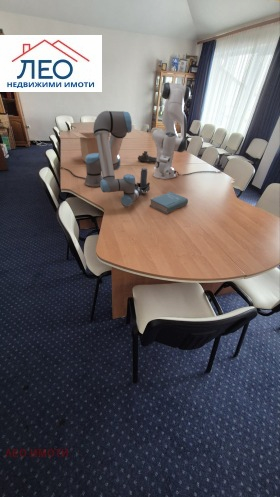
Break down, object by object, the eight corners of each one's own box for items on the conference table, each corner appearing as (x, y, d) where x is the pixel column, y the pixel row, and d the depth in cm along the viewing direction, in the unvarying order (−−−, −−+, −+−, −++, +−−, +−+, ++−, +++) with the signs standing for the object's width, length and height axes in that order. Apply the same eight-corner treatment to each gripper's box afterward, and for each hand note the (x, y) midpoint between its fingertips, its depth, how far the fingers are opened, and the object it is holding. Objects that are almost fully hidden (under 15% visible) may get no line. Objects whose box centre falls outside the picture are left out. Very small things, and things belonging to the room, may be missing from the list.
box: (116, 165, 229) (116, 136, 213) (83, 168, 214) (80, 137, 198) (102, 154, 259) (101, 128, 243) (71, 156, 244) (68, 129, 228)
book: (169, 197, 170) (170, 191, 167) (186, 205, 161) (188, 198, 158) (149, 205, 157) (150, 199, 154) (167, 214, 148) (168, 207, 145)
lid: (168, 177, 171) (169, 174, 169) (161, 176, 170) (161, 173, 169) (168, 174, 175) (168, 172, 174) (160, 174, 175) (161, 171, 174)
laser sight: (156, 164, 241) (157, 154, 235) (136, 162, 244) (137, 152, 238) (158, 162, 249) (159, 152, 243) (138, 159, 252) (139, 150, 246)
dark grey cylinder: (138, 194, 172) (140, 169, 160) (140, 192, 176) (142, 167, 164) (144, 195, 171) (146, 170, 160) (146, 193, 175) (148, 168, 163)
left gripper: (122, 196, 160) (134, 186, 178) (145, 201, 156) (155, 190, 174) (122, 186, 156) (135, 176, 174) (146, 191, 151) (156, 180, 169)
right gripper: (167, 154, 174) (165, 171, 182) (158, 159, 158) (156, 178, 166) (175, 155, 172) (172, 173, 180) (166, 160, 156) (164, 180, 164)
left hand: (145, 183), depth 174 cm, fingers closed on dark grey cylinder, 5 cm apart
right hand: (164, 175), depth 173 cm, fingers closed on lid, 5 cm apart
